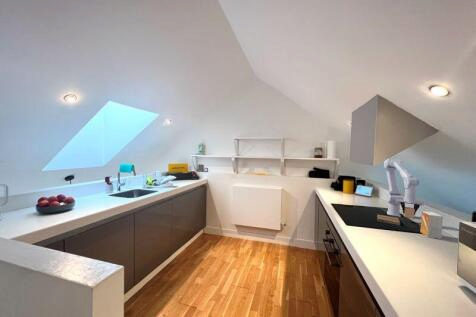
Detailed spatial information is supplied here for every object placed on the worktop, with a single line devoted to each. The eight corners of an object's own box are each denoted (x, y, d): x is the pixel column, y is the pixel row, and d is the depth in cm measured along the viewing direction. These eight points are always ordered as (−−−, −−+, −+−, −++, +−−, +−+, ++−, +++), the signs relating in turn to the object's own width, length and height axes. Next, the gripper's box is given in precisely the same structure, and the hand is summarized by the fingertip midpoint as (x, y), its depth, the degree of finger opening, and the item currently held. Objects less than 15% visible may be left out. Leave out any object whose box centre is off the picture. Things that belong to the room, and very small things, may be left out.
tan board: (377, 217, 151) (377, 214, 151) (397, 220, 145) (397, 217, 145) (377, 221, 141) (378, 218, 141) (399, 225, 135) (400, 222, 135)
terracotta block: (403, 214, 146) (404, 206, 146) (412, 216, 143) (413, 207, 143) (404, 216, 142) (405, 208, 141) (414, 218, 139) (414, 209, 139)
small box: (419, 232, 124) (421, 210, 124) (432, 233, 122) (434, 212, 122) (427, 237, 116) (429, 214, 116) (441, 239, 115) (443, 216, 114)
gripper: (397, 194, 142) (396, 213, 143) (425, 197, 135) (424, 217, 135) (396, 192, 148) (395, 211, 149) (423, 195, 141) (421, 215, 141)
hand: (408, 214), depth 142 cm, fingers closed on terracotta block, 5 cm apart
